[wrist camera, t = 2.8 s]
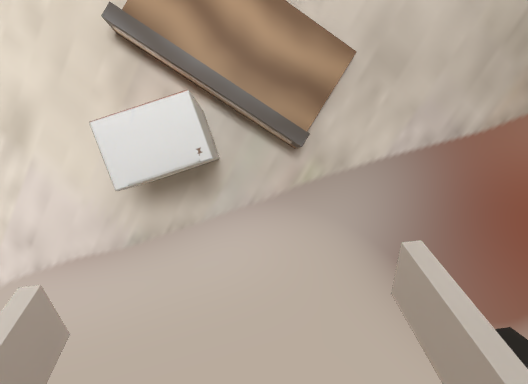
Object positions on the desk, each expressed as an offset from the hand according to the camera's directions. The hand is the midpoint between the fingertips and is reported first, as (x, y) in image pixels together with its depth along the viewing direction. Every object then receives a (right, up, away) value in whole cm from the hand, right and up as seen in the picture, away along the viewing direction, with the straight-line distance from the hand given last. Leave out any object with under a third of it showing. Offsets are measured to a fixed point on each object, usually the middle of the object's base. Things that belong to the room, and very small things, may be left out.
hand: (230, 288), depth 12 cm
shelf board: (-1, +19, +22) cm, 29 cm away
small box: (-8, +9, +22) cm, 25 cm away
